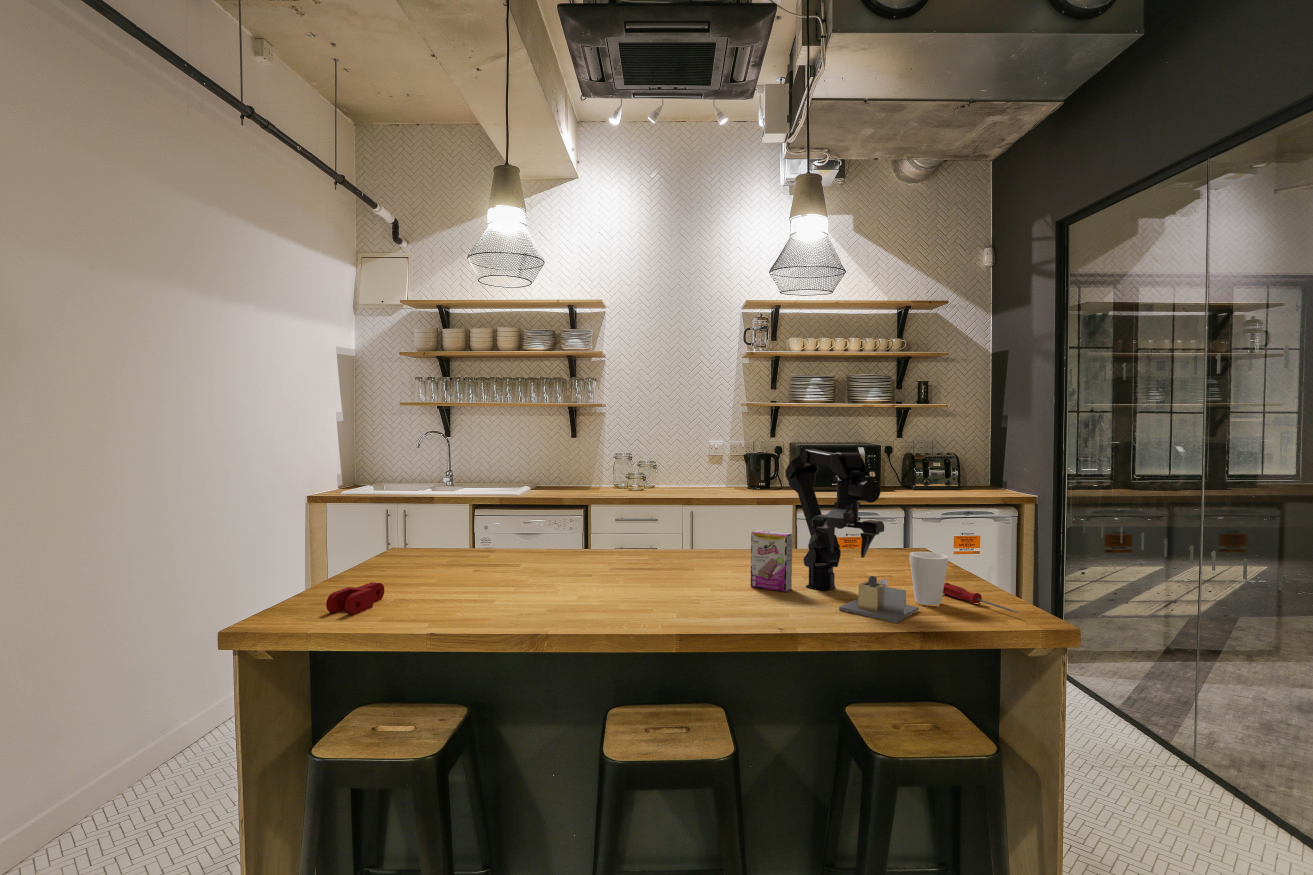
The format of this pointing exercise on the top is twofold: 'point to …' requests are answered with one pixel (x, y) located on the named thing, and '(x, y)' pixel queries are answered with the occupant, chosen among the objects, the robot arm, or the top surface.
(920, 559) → the foam cup
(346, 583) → the top surface
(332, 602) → the mechanical linkage
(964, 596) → the screwdriver
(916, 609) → the base plate
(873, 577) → the hinge pin
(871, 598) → the hinge
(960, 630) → the top surface
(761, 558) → the candy bar box
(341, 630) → the top surface
